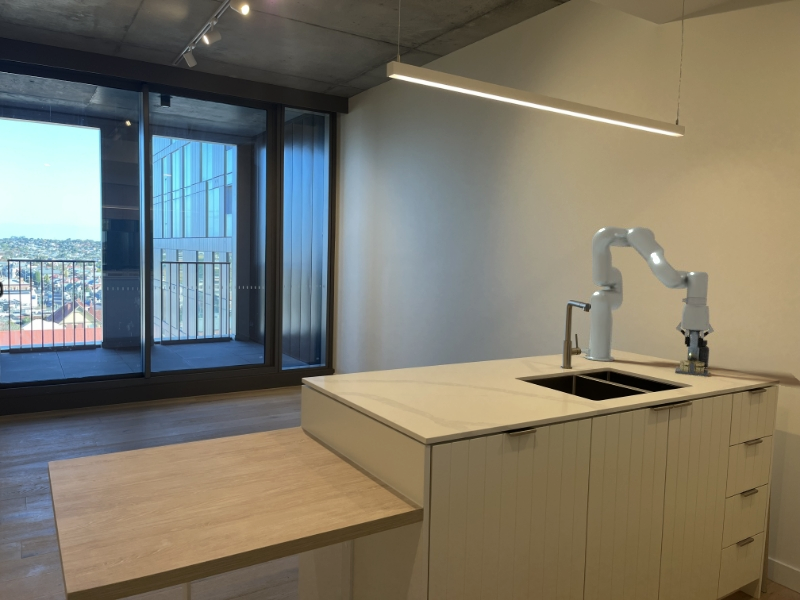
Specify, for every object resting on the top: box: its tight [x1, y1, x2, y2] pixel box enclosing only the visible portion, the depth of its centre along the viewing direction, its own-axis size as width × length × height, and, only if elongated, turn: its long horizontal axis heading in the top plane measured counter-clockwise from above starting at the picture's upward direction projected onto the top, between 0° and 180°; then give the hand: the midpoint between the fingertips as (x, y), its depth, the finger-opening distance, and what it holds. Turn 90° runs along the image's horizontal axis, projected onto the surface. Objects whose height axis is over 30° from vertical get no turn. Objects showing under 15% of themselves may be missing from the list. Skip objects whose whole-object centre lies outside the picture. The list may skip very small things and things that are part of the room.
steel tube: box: [686, 330, 701, 361], centre depth 249 cm, size 4×4×14 cm
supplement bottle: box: [698, 339, 710, 367], centre depth 266 cm, size 7×7×12 cm
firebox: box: [674, 359, 709, 377], centre depth 249 cm, size 12×12×4 cm
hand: (693, 346), depth 249 cm, fingers closed on steel tube, 4 cm apart
